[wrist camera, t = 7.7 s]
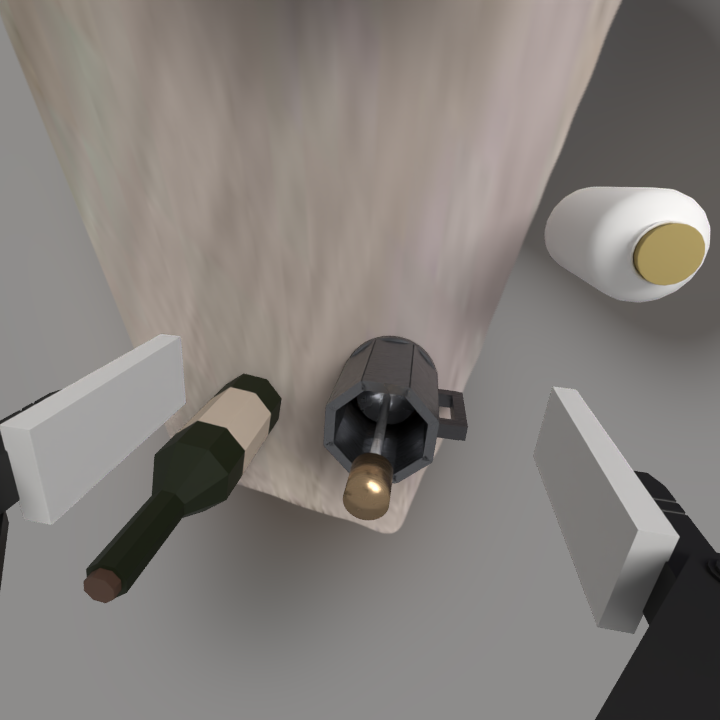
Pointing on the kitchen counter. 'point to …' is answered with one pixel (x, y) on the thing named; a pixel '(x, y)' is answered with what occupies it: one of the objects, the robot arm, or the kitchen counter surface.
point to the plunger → (374, 457)
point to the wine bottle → (189, 479)
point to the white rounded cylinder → (629, 240)
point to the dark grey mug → (399, 377)
